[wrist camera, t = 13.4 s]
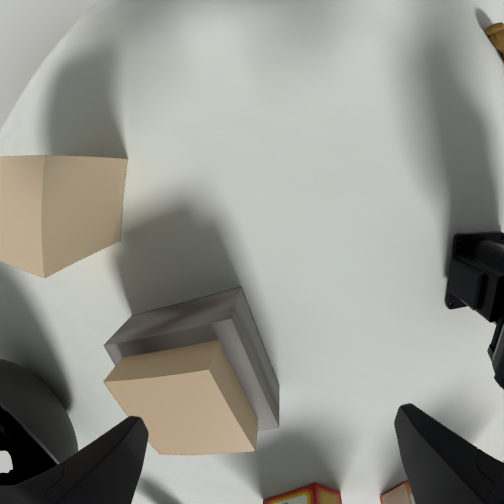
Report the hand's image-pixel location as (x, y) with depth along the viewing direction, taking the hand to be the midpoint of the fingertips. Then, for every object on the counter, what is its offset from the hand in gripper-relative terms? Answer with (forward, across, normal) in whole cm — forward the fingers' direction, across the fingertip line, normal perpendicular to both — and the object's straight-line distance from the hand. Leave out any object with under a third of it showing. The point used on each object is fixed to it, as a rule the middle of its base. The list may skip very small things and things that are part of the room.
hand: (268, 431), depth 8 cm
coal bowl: (+14, +32, +15) cm, 38 cm away
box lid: (+8, +6, +6) cm, 12 cm away
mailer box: (+13, +14, -8) cm, 21 cm away
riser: (+13, +6, +6) cm, 16 cm away
